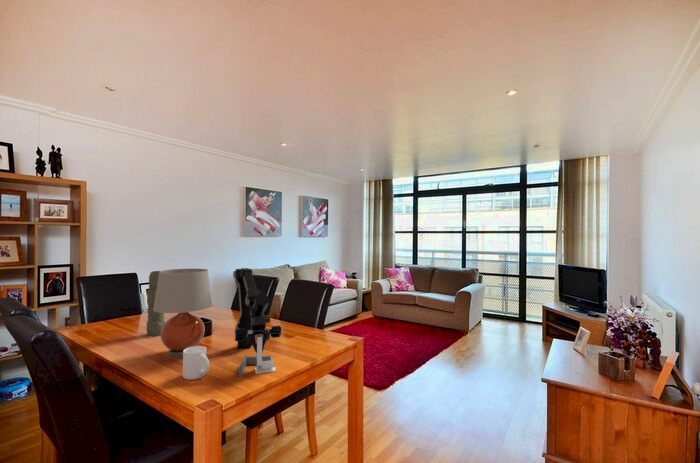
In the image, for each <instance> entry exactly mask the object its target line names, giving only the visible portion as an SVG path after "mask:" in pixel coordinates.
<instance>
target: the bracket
mask: <svg viewBox="0 0 700 463" xmlns="http://www.w3.org/2000/svg"><path fill="white" fill-rule="evenodd" d="M262 338H263V335H262V334H257V335H256V336H255V340H256V345H257V353H256V352H255V356H256V364H255V368H257V369H264V368H272V367H274V366H275V361H274V359H271V360H270V361H262V356H263V352H262Z"/></svg>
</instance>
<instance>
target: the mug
mask: <svg viewBox="0 0 700 463" xmlns="http://www.w3.org/2000/svg"><path fill="white" fill-rule="evenodd" d="M209 369H210V360H209V358H208V357H207V347H206V346H202V345H197V346H194V347H189V348H186V349H185V350H183V357H182V378H184V380H188V381H192V380H193V381H194V380H198V379H200V378H203V377H204V376H205V375H206V374H207V373H208V372H209Z"/></svg>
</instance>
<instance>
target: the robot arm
mask: <svg viewBox="0 0 700 463" xmlns="http://www.w3.org/2000/svg"><path fill="white" fill-rule="evenodd" d="M232 274H233V275H232V276H233V278H234V282H235V284H236V285H237V287H238V301H239V317H238V319H237V320H236V323H237V324H236V325H235V328H234V342H237V346H236V349H250V348H251V347H252V348H253V350H254V352H255V354H256V353H257V345H256V336H257V334H262V353H263V352H264V349H265V346H266V343H267V341H269V340H270V337H271V338H272V339H275V338H280V337H281V334H282V326H281V325H280V324H279V325H272V326H271V328H270V329H266V327H267V324H269V323H271V316H270V314H265V311H266V310H267V308H268V305H269V302H270V298H269V297H268V295H266V294H264V292H261V290H260V289H258V288H257V285H256V282H255V280H254V276H253V270H252V269H251V268H235V270H234V271H233V272H232Z"/></svg>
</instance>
